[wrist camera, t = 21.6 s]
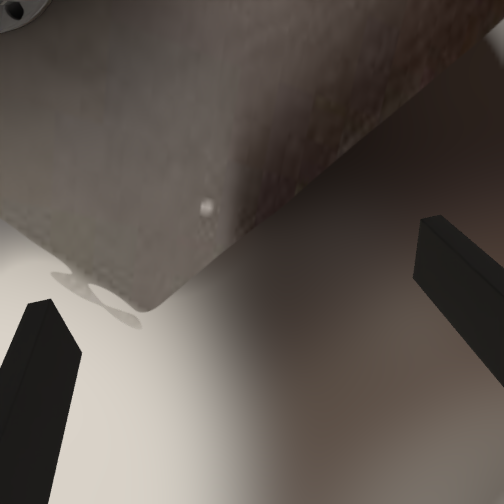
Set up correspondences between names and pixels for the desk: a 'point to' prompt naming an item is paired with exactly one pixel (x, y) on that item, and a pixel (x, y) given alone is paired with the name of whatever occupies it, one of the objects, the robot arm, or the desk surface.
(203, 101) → the desk surface
